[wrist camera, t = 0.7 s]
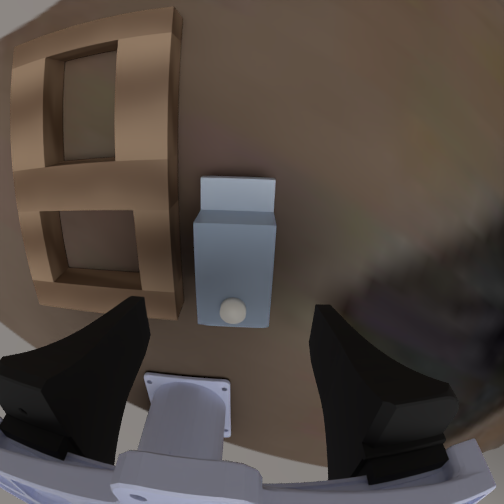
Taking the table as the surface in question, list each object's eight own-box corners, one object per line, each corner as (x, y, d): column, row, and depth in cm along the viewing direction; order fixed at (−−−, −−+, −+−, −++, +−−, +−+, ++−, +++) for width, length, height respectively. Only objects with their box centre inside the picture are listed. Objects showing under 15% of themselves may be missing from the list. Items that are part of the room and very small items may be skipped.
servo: (272, 170, 19) (279, 191, 14) (264, 301, 23) (266, 356, 18) (208, 168, 19) (190, 188, 14) (210, 299, 23) (198, 352, 18)
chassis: (184, 301, 23) (177, 320, 21) (54, 289, 23) (39, 304, 21) (182, 18, 15) (173, 6, 13) (34, 50, 15) (14, 46, 13)
